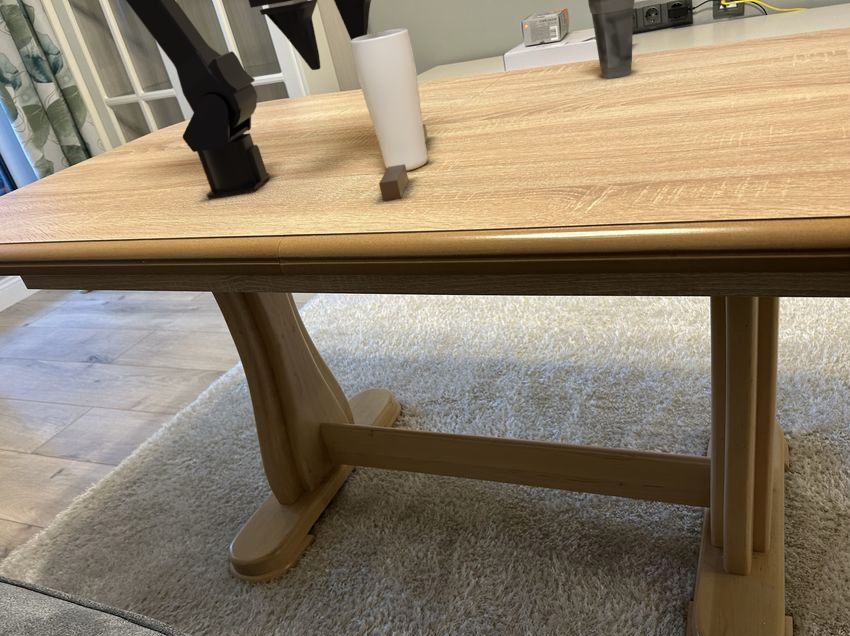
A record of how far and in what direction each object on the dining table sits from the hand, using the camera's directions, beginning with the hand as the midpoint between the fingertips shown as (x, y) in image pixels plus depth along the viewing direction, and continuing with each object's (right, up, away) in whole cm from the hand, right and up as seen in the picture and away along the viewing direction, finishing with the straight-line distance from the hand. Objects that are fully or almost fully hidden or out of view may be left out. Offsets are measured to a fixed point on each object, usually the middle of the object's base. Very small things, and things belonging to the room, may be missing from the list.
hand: (340, 60), depth 83 cm
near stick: (+7, -16, -5) cm, 18 cm away
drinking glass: (+8, -12, +4) cm, 14 cm away
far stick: (+8, -7, +12) cm, 16 cm away
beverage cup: (+39, +9, +29) cm, 49 cm away
